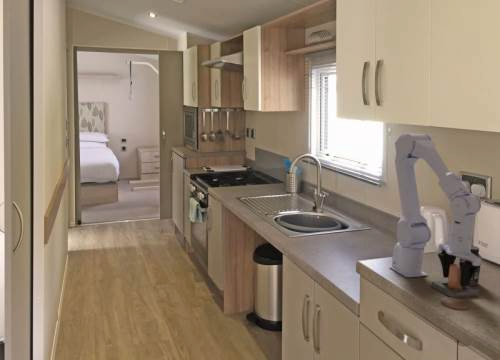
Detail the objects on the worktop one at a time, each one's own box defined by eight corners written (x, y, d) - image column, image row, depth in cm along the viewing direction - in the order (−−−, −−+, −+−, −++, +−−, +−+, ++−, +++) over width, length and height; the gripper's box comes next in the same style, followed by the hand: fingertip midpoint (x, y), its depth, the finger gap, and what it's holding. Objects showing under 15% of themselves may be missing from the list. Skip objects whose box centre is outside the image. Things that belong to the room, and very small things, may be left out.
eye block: (431, 286, 148) (431, 281, 148) (455, 284, 152) (456, 279, 151) (452, 298, 140) (453, 293, 140) (478, 295, 143) (478, 290, 143)
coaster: (435, 300, 138) (435, 298, 138) (455, 298, 140) (455, 296, 140) (453, 310, 132) (453, 309, 132) (474, 308, 134) (474, 306, 134)
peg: (443, 289, 147) (446, 264, 146) (454, 288, 148) (457, 263, 147) (453, 294, 143) (456, 269, 142) (464, 293, 145) (468, 268, 143)
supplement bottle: (460, 277, 158) (465, 242, 156) (480, 282, 154) (485, 247, 152) (454, 282, 153) (459, 246, 151) (474, 287, 150) (479, 251, 148)
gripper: (432, 229, 148) (427, 273, 151) (469, 244, 135) (462, 292, 137) (451, 229, 151) (446, 272, 153) (489, 243, 137) (482, 290, 140)
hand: (455, 281), depth 145 cm, fingers open, 6 cm apart
